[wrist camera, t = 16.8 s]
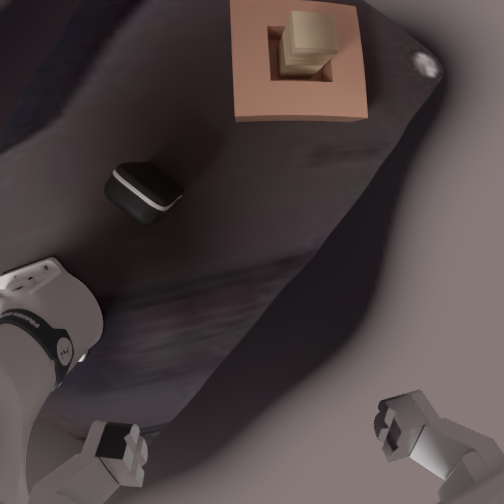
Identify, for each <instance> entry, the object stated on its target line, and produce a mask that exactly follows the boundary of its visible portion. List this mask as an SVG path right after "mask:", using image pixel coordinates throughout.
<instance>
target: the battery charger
mask: <svg viewBox="0 0 504 504" xmlns="http://www.w3.org/2000/svg"><path fill="white" fill-rule="evenodd" d="M104 193H105V196H106V197H107V198H108V199H109V200H110V201H111V202H112V203H114V204H115V205H116V206H117V207H118V208H120V209H121V210H122V211H123V212H125V213H126V214H127V215H129V216H130V217H131V218H132V219H134V220H135V221H136V222H138V223H139V224H141V225H144V226H150V225H152V224H154V223H156V222H157V221H158V220H160V219H161V218H162V217H163V216H164V215H165V213H166V212H167V210H168V209H169V208H170V207H171V206H172V205H173V204H175V203H176V202H177V201H178V200H179V198H181V197H182V194H183V193H184V189H183V188H181V187H180V186H179V185H178V184H176V183H175V182H174V181H172V180H171V179H170V178H169V177H167V176H166V175H165V174H163V173H162V172H161V171H159V170H158V169H157V168H156V167H154V166H153V165H152V164H150V163H149V162H130V163H122V164H120V165H118V166H117V167H116V168H115V169H114V171H113V174H112V175H111V177H110V178H109V180H108V182H107V183H106V185H105V189H104Z"/></svg>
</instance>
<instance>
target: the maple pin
mask: <svg viewBox="0 0 504 504" xmlns="http://www.w3.org/2000/svg"><path fill="white" fill-rule="evenodd" d="M338 51H339V45H338V37H337V28H336V21H335V14H328V13H318V12H305V11H291V14H290V16H289V19H288V21H287V24H286V27H285V29H284V32H283V34H282V37H281V40H280V42H279V45H278V47H277V64H278V78H296V79H311V78H312V77H313V76H314V75H315V74H316V73H317V72H318V71H319V70H320V69H321V68H322V67H323V66H324V65H325V64H326V63H327V62H328V61H329V60H330V59H331V58H332V57H333V56H334V55H335V54H336V53H337V52H338Z"/></svg>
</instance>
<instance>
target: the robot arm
mask: <svg viewBox="0 0 504 504" xmlns="http://www.w3.org/2000/svg"><path fill="white" fill-rule="evenodd" d="M46 266H47V267H48V269H47V267H46ZM102 331H103V318H102V313H101V310H100V307H99V305H98V303H97V301H96V299H95V297H94V296H93V294H92V293H91V292H90V290H89V289H88V288H87V287H86V286H85V285H84V284H83V283H82V282H81V281H80V280H78V279H77V278H75V277H74V276H72V275H71V274H69V273H68V272H67V271H66V270H65V269H64V268H63V266H62V265H61V264H60V263H59V261H58V260H57V259H55V258H53V257H50V258H47V259H44V260H41V261H38V262H36V263H33V264H30V265H27V266H24V267H21V268H19V269H16V270H13V271H10V272H8V273H5V274H3V275H1V276H0V504H103V503H104V502H105V501H106V500H107V499H108V498H109V497H110V496H111V495H112V494H113V492H114V491H115V490H116V489H117V488H118V487H119V485H125V486H135V487H142V482H143V477H144V471H143V469H142V468H141V467H142V466H143V465H144V464H145V463H146V461H147V445H146V442H145V440H144V438H142V437H141V436H139V432H140V430H139V428H138V426H137V425H135V424H125V423H115V422H106V421H98V420H96V421H95V422H94V423H93V424H92V426H91V429H90V431H89V434H88V437H87V439H86V442H85V445H84V447H83V450H82V452H81V454H76V455H75V456H74V457H72V458H71V459H70V460H68V461H67V462H66V463H64V464H63V465H61V466H60V467H59V468H57V469H56V470H55V471H53V472H52V473H50V474H49V475H48V476H46V477H45V478H43V479H42V480H41V481H39V482H38V483H36V484H35V485H34V487H33V490H32V492H31V495H30V497H29V495H28V491H27V486H26V478H25V461H26V450H27V443H28V437H29V434H30V430H31V427H32V424H33V422H34V420H35V418H36V416H37V415H38V413H39V411H40V409H41V407H42V405H43V404H44V402H45V400H46V399H47V397H48V395H49V394H50V393H51V392H53V391H55V390H56V388H57V387H58V386H59V385H60V384H61V383H62V380H63V379H64V377H65V376H66V375H67V373H68V372H69V371H70V370H71V369H72V368H73V367H74V366H75V364H76V363H77V362H82V361H83V360H84V359H85V358H86V356H87V353H88V350H89V349H90V348H91V347H92V346H93V345H94V344H96V343H97V341H98V340H99V339H100V337H101V334H102ZM378 409H379V411H380V412H379V413H378V414H377V415H376V416H375V420H374V431H375V434H376V437H377V439H378V440H380V441H382V442H383V443H384V444H383V447H382V450H383V452H384V454H385V456H386V459H387V461H388V462H391V461H394V460H398V459H401V458H404V457H407V456H410V458H412V459H413V460H415V461H416V462H418V463H419V464H421V465H422V466H424V467H425V468H427V469H428V470H430V471H431V472H433V473H434V474H436V475H437V476H439V477H440V478H442V479H444V480H445V481H444V482H443V484H442V485H441V486H440V487H439V489H438V490H437V492H436V494H437V496H438V498H439V500H440V502H438V503H436V504H504V454H503V452H502V451H501V449H500V448H499V446H498V445H497V444H496V442H495V441H494V439H492V438H490V437H487V436H485V435H482V434H480V433H478V432H476V431H473V430H471V429H469V428H466V427H464V426H462V425H459V424H457V423H455V422H452V421H450V420H448V419H446V418H442V419H441V418H440V417H439V416H438V414H437V413H436V411H435V410H434V408H433V407H432V405H431V404H430V402H429V401H428V399H427V398H426V397H425V395H424V394H423V392H422V391H421V390H416V391H412V392H409V393H405V394H401V395H398V396H394V397H391V398H387V399H384V400H381V401H380V402H379V405H378Z"/></svg>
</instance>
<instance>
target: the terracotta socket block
mask: <svg viewBox="0 0 504 504" xmlns="http://www.w3.org/2000/svg"><path fill="white" fill-rule="evenodd" d="M291 11H305V12H318V13H328V14H335V21H336V28H337V37H338V45H339V51H338V52H337V53H336V54H335V55H334V56H333V57H332V58H331V59H330V60H329V61H328V62H327V63H326V64H325V65H324V66H323V67H322V68H321V69H320V70H319V71H318V72H317V73H316V74H315V75H314V76H313V77H312V78H311V79H296V78H278V64H277V47H278V45H279V42H280V40H281V37H282V34H283V32H284V29H285V27H286V24H287V21H288V19H289V16H290V14H291ZM230 14H231V40H232V63H233V86H234V108H235V122H253V121H334V122H354V121H357V120H362V119H366V118H368V112H367V97H366V84H365V73H364V63H363V54H362V46H361V38H360V31H359V24H358V17H357V11H356V6H349V5H343V4H335V3H327V2H317V1H305V0H230Z"/></svg>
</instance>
